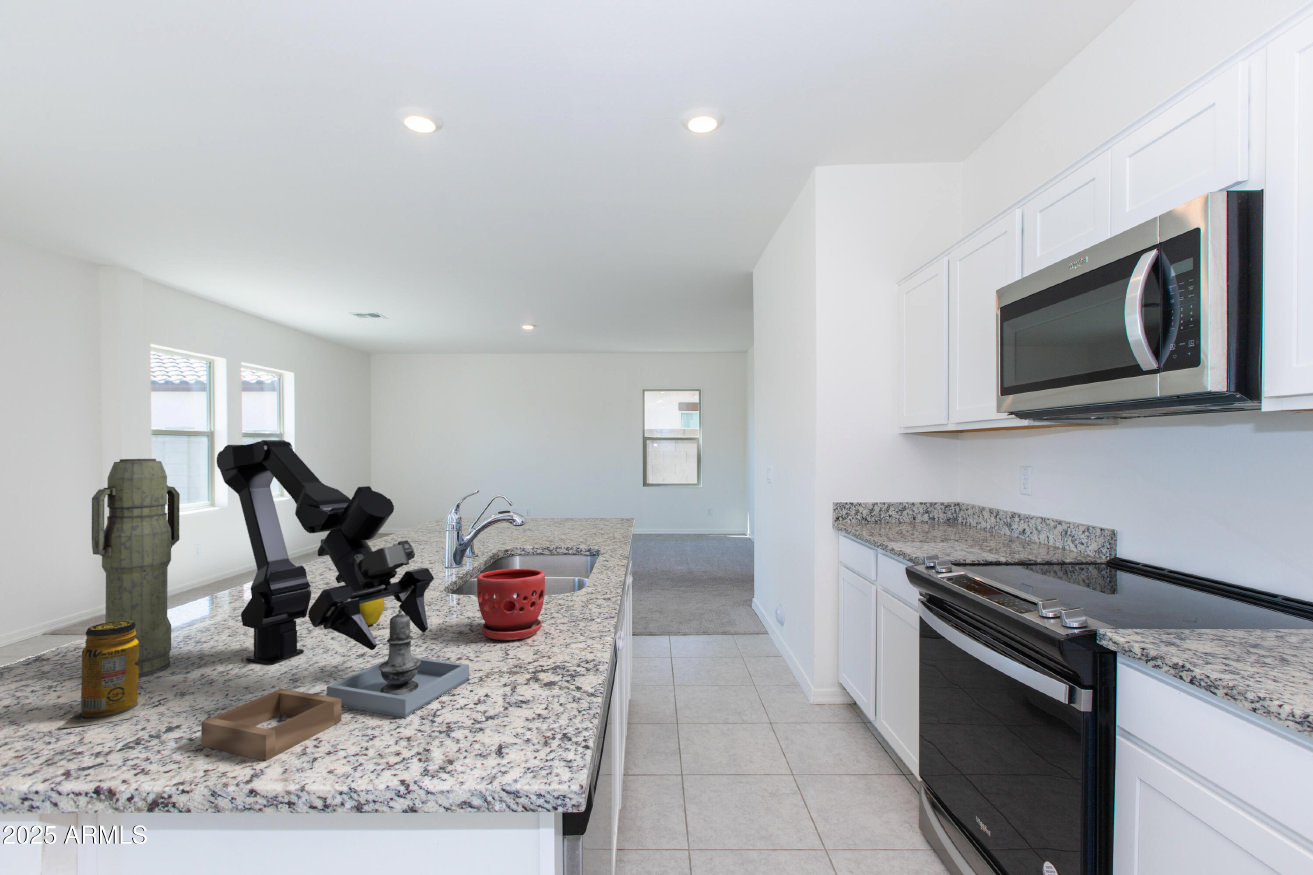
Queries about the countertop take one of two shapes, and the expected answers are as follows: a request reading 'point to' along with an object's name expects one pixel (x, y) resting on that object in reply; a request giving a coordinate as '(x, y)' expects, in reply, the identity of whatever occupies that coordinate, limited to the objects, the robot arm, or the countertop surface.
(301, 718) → the socket block
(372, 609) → the apple
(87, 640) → the condiment
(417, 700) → the tray
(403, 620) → the salt shaker
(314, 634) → the countertop surface
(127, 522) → the thermos
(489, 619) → the plant pot
